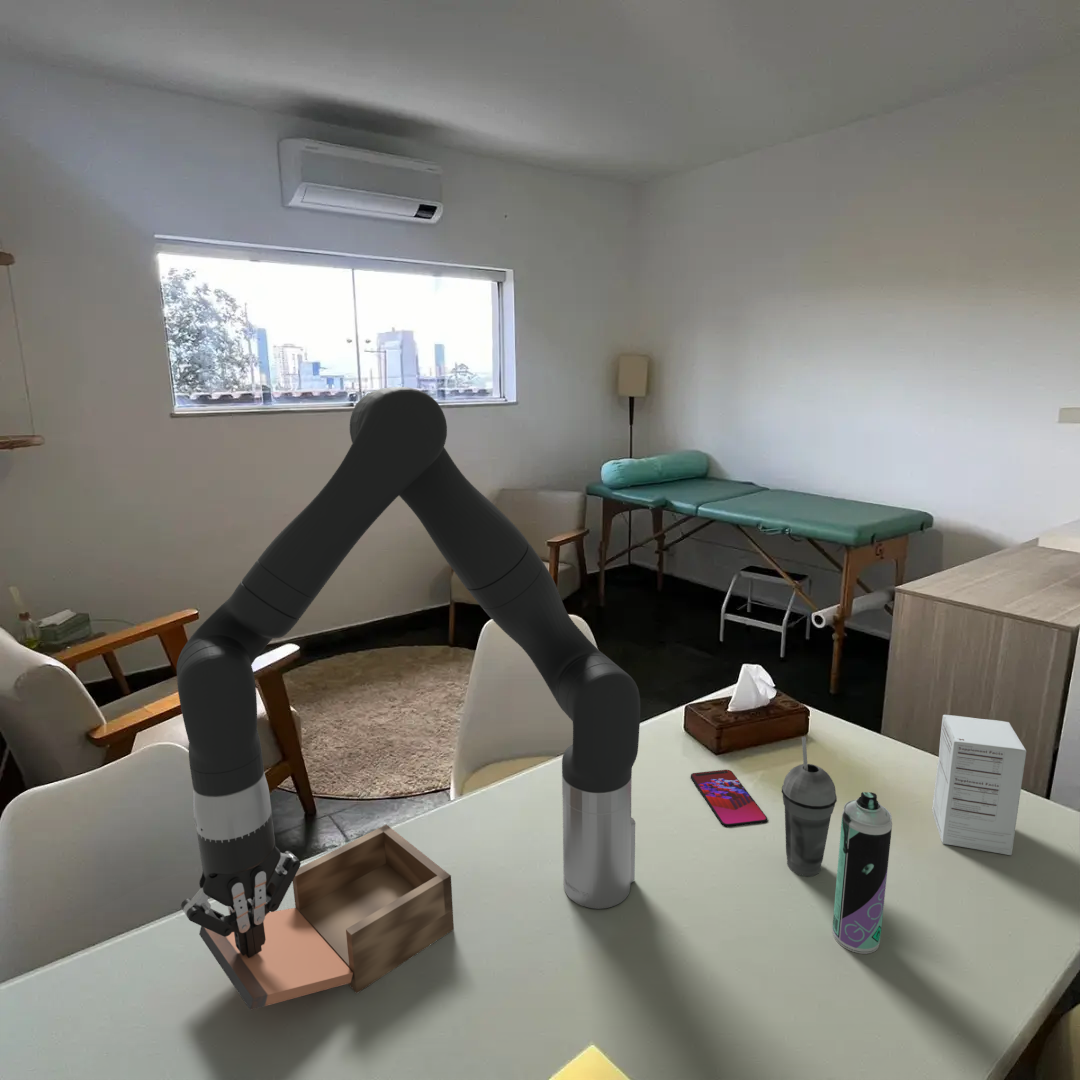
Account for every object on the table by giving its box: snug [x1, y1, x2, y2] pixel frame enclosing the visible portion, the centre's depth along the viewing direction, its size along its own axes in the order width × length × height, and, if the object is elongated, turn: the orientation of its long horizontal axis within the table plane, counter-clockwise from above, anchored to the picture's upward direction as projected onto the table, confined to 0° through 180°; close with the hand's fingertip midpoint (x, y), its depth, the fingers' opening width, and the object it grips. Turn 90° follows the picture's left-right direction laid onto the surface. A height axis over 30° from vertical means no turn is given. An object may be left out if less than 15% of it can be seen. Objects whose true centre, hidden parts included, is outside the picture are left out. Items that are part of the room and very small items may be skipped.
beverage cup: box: [781, 736, 838, 877], centre depth 102 cm, size 7×7×20 cm
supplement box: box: [931, 714, 1027, 856], centre depth 109 cm, size 10×9×17 cm
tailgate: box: [199, 907, 353, 1011], centre depth 85 cm, size 1×15×12 cm
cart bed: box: [292, 824, 455, 994], centre depth 94 cm, size 14×15×8 cm
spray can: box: [831, 791, 893, 955], centre depth 89 cm, size 6×6×20 cm
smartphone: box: [690, 769, 768, 828], centre depth 121 cm, size 8×1×15 cm
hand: (252, 950), depth 83 cm, fingers closed
